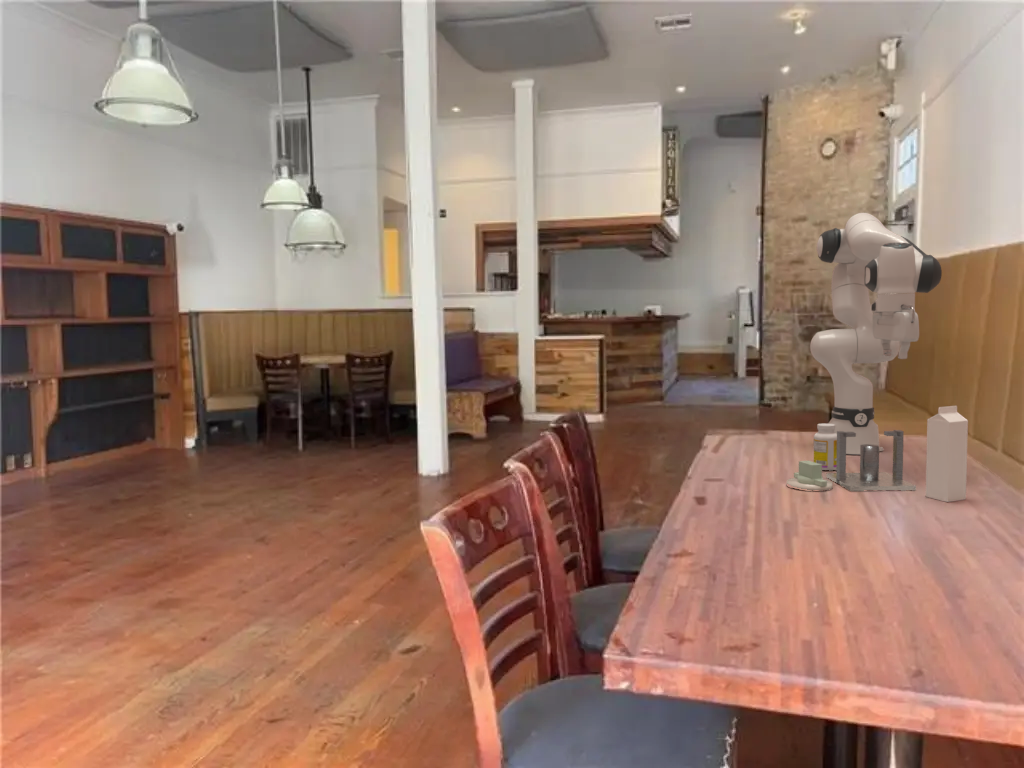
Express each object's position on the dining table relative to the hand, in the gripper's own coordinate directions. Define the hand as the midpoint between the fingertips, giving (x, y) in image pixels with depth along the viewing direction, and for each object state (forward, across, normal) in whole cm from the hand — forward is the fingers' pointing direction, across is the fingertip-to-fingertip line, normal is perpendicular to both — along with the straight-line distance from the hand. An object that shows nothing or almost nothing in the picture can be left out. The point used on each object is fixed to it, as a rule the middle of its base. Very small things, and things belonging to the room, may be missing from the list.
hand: (894, 357), depth 197 cm
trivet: (+32, -10, +25) cm, 42 cm away
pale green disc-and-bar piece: (+31, -10, +25) cm, 41 cm away
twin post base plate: (+32, -8, +9) cm, 34 cm away
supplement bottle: (+33, +11, +13) cm, 37 cm away
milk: (+32, -23, -3) cm, 40 cm away
